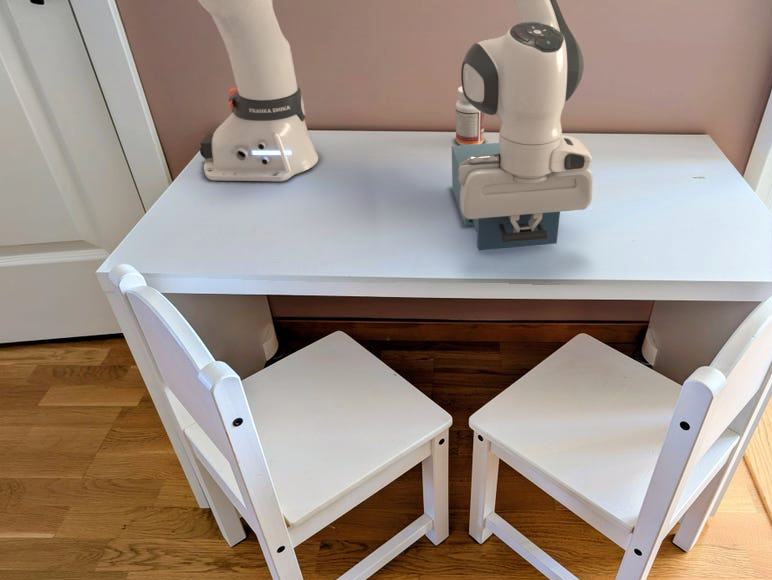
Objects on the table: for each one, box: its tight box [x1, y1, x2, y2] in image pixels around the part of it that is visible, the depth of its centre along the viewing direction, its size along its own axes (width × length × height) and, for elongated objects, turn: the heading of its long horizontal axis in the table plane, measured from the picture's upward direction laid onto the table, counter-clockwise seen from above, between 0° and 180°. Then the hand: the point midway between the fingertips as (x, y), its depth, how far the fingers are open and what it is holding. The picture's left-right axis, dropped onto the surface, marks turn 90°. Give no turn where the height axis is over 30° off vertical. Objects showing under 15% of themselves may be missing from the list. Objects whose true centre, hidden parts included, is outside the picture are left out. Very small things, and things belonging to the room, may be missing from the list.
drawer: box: [472, 212, 561, 252], centre depth 102 cm, size 18×13×7 cm
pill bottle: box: [455, 85, 485, 145], centre depth 131 cm, size 6×6×11 cm
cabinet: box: [451, 142, 499, 228], centre depth 111 cm, size 15×15×9 cm
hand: (523, 236), depth 97 cm, fingers closed, pressing on drawer
